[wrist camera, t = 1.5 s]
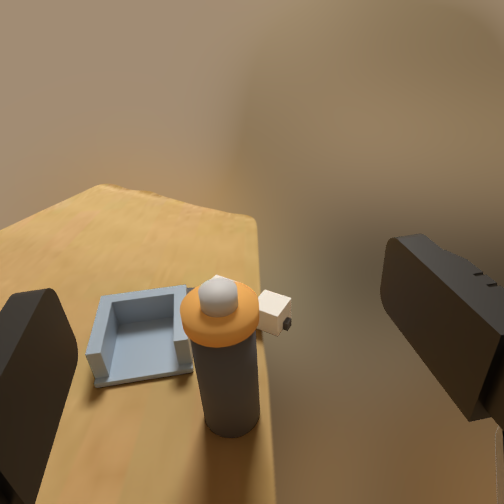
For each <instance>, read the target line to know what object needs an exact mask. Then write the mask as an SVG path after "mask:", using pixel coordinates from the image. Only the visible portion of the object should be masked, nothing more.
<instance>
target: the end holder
mask: <svg viewBox="0 0 504 504" xmlns="http://www.w3.org/2000/svg"><path fill="white" fill-rule="evenodd" d="M187 294H188V293H187V287H186V285H179V286H172V287H165V288H157V289H150V290H142V291H135V292H128V293H120V294H113V295H106V296H101V299H100V302H99V306H98V310H97V313H96V317H95V321H94V325H93V328H92V332H91V336H90V339H89V343H88V347H87V350H86V354H85V355H86V358H87V360H88V363H89V365H90V367H91V370H92V372H93V375H94V377H95V382H94V386H95V388H99V387H105V386H111V385H117V384H123V383H130V382H136V381H142V380H148V379H154V378H160V377H166V376H173V375H179V374H185V373H191V372H193V355H192V347H191V342H190V339H189V338H188V337H187V335H186V334H185V332H184V330H183V326H182V320H181V315H180V305H181V302H182V300H183V299H184V297H185V296H186V295H187Z"/></svg>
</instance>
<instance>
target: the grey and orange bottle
mask: <svg viewBox="0 0 504 504" xmlns="http://www.w3.org/2000/svg"><path fill="white" fill-rule="evenodd" d="M180 315H181V320H182V326H183V330H184V332H185V334H186V335H187V337H188V338H189V339H190V342H191V347H192V353H193V358H194V363H195V368H196V374H197V379H198V384H199V390H200V395H201V400H202V405H203V411H204V416H205V421H206V423H207V425H208V427H209V428H210V430H211V431H212V432H214V433H215V434H217V435H219V436H221V437H226V438H235V437H239V436H242V435H244V434H246V433H248V432H249V431H250V430H251V429H252V428H253V427H254V426H255V425H256V423H257V421H258V419H259V415H260V404H259V385H258V366H257V348H256V328H257V326H258V324H259V318H260V317H259V300H258V297H257V295H256V293H255V292H254V291H253V290H252V289H251V288H250V287H248V286H246V285H245V284H242V283H239V282H235V281H232V280H230V279H226V278H214V279H210V280H208V281H206V282H204V283H203V284H202V285H200V286H198V287H196V288H194V289H193V290H191V291H190V292H189V293H188V294H187V295H186V296H185V297H184V299H183V300H182V302H181V305H180Z"/></svg>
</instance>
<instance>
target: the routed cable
mask: <svg viewBox="0 0 504 504" xmlns="http://www.w3.org/2000/svg"><path fill="white" fill-rule="evenodd" d="M214 278H225V277H222V276H219V275H215V276H214V277H213V278H212V279H214ZM226 279H228V278H226ZM230 280H231V279H230ZM232 281H234V280H232ZM235 282H237V281H235ZM193 289H194V288H187V293H189V292H190V291H191V290H193ZM258 300H259V317H260V318H259V324H258V326H257V329H259V330H262V331H265V332H267V333H270V334H272V335H275V336H278V335H279V334H280V332H281V331H282V330H283V329H284V330H287V331H288V329H289V328H290V326H291V298H289V297H286V296H283V295H280V294H277V293H274V292H271V291H268V290H264V291H263V292H262V293H261V295H260V296H259V297H258Z"/></svg>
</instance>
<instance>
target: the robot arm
mask: <svg viewBox="0 0 504 504" xmlns="http://www.w3.org/2000/svg"><path fill="white" fill-rule="evenodd" d="M380 294H381V300H382V304H383V307H384V309H385V311H386V312H387V314H388V315H389V316H390V318H391V319H392V320H393V322H394V323H395V324H396V326H397V327H398V328H399V330H400V331H401V332H402V334H403V335H404V336H405V338H406V339H407V340H408V342H409V343H410V344H411V346H412V347H413V348H414V350H415V351H416V352H417V354H418V355H419V356H420V358H421V359H422V360H423V362H424V363H425V364H426V365H427V367H428V368H429V370H430V371H431V372H432V374H433V375H434V376H435V377H436V379H437V380H438V381H439V383H440V384H441V385H442V387H443V388H444V389H445V391H446V392H447V393H448V395H449V396H450V397H451V399H452V400H453V401H454V403H455V404H456V405H457V406H458V408H459V409H460V411H461V412H462V413H463V415H464V416H465V417H466V418H467V420H468V421H469V422H471V421H475V420H480V419H485V418H489V417H492V418H493V419H494V420H495V422H496V423H497V424H498V425H499V426H498V429H497V431H496V434H495V449H496V479H497V504H504V288H503V287H501V286H497V283H496V282H495V281H494V280H492V279H491V278H490V277H489V276H487V275H483V272H482V271H481V270H480V269H478V268H477V267H476V266H475V265H473V264H472V263H471V262H469V261H468V260H467V259H464V258H462V257H460V256H458V255H456V254H453V253H451V252H449V251H446V250H443V249H441V248H440V247H439V246H438V245H436V244H435V243H434V242H433V241H431V240H430V239H429V238H428V237H427V236H425V235H423V234H415V235H408V236H401V237H394V238H391V239H389V241H388V242H387V245H386V250H385V258H384V265H383V272H382V280H381V287H380ZM77 361H78V348H77V342H76V339H75V336H74V334H73V331H72V329H71V327H70V324H69V322H68V319H67V317H66V315H65V312H64V310H63V307H62V305H61V303H60V300H59V298H58V296H57V294H56V292H55V291H54V290H53V289H51V288H47V289H41V290H34V291H27V292H21V293H15V294H12V295H11V296H10V297H9V299H8V301H7V302H6V304H5V305H4V307H3V308H2V310H1V311H0V504H35V502H36V498H37V495H38V492H39V488H40V485H41V482H42V478H43V475H44V472H45V468H46V465H47V462H48V459H49V455H50V452H51V449H52V445H53V442H54V439H55V435H56V432H57V429H58V426H59V422H60V419H61V416H62V412H63V409H64V406H65V402H66V399H67V396H68V393H69V389H70V386H71V383H72V379H73V376H74V373H75V369H76V366H77Z"/></svg>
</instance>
